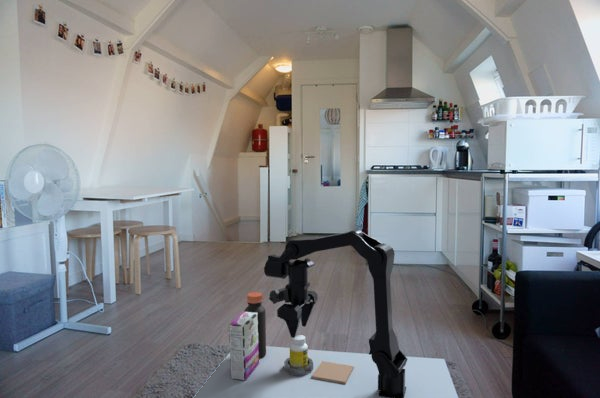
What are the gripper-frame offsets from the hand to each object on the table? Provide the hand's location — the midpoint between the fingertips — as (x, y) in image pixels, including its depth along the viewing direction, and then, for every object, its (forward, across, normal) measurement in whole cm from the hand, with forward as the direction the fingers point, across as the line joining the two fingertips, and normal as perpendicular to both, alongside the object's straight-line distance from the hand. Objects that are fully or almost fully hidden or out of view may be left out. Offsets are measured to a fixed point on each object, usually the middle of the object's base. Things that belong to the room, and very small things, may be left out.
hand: (298, 331), depth 126 cm
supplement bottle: (+12, 0, 0) cm, 12 cm away
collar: (+12, 0, 0) cm, 12 cm away
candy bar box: (+12, +7, -15) cm, 20 cm away
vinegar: (+12, -4, -17) cm, 21 cm away
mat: (+12, -1, +10) cm, 16 cm away
